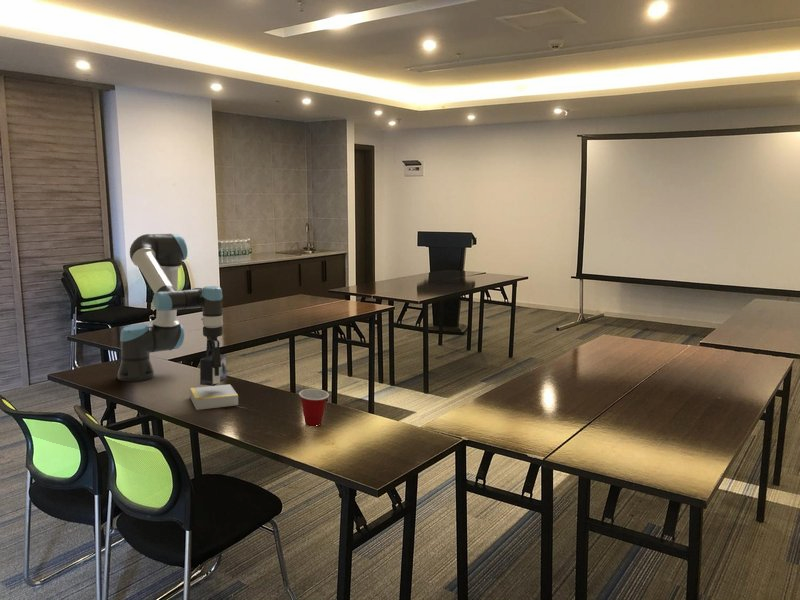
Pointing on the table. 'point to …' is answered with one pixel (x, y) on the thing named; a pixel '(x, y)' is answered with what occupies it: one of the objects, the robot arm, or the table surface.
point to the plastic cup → (313, 405)
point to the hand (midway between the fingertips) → (213, 379)
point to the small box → (211, 370)
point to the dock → (213, 396)
